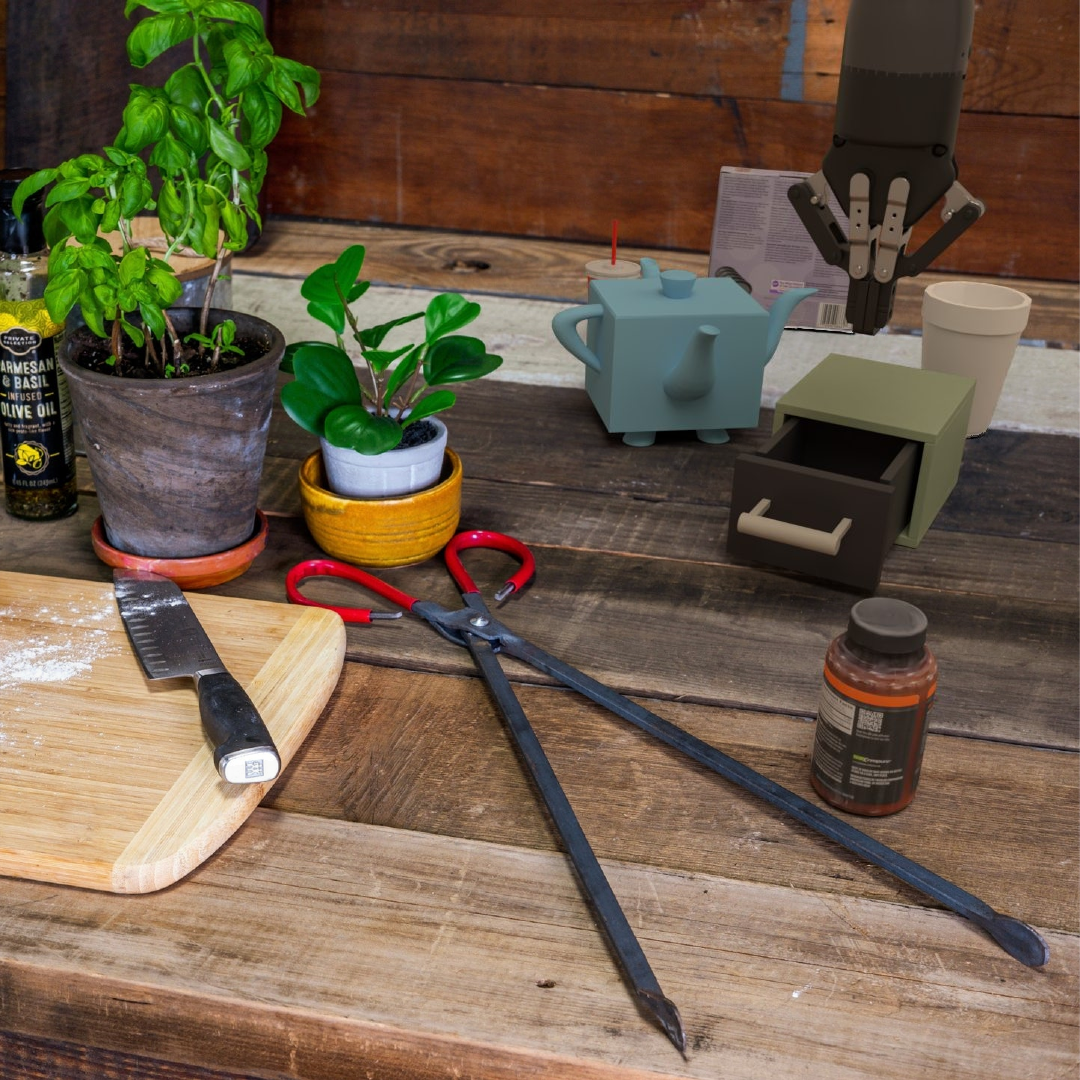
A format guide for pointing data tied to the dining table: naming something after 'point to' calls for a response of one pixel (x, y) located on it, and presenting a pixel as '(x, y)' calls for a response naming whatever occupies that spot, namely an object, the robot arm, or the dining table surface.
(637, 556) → the dining table surface
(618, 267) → the beverage cup
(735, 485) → the drawer
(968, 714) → the dining table surface
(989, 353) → the foam cup
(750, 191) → the cake pan box
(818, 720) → the supplement bottle
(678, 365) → the teakettle
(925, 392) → the cabinet
